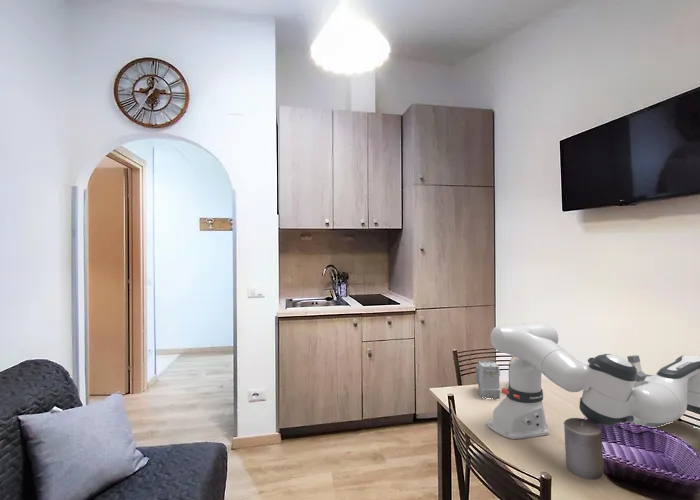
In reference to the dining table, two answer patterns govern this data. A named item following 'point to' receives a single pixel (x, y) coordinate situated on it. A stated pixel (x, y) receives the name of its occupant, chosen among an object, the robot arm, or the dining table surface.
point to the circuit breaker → (488, 379)
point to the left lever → (639, 379)
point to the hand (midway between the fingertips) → (641, 376)
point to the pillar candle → (583, 448)
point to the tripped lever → (635, 361)
